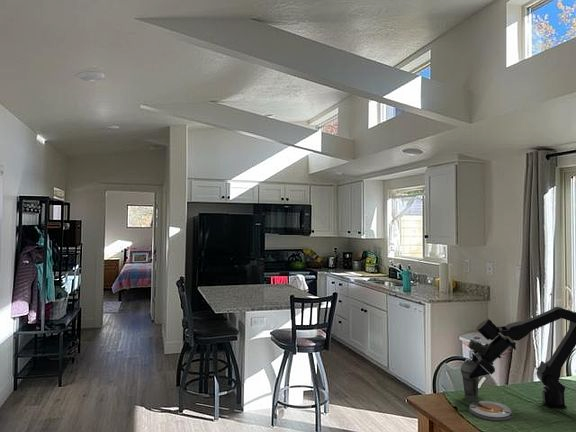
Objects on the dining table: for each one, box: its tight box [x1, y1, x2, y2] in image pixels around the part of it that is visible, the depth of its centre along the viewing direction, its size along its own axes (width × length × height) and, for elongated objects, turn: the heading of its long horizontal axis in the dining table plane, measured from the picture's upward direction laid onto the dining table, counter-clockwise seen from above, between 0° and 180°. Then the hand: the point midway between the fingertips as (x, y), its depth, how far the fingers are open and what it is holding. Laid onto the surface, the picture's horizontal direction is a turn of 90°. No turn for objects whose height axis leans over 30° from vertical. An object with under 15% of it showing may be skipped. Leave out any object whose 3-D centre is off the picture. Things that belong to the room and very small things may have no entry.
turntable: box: [469, 400, 512, 418], centre depth 159 cm, size 14×14×1 cm
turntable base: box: [468, 405, 514, 422], centre depth 159 cm, size 15×15×1 cm
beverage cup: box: [460, 349, 480, 402], centre depth 173 cm, size 7×7×20 cm
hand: (468, 374), depth 173 cm, fingers open, 9 cm apart
